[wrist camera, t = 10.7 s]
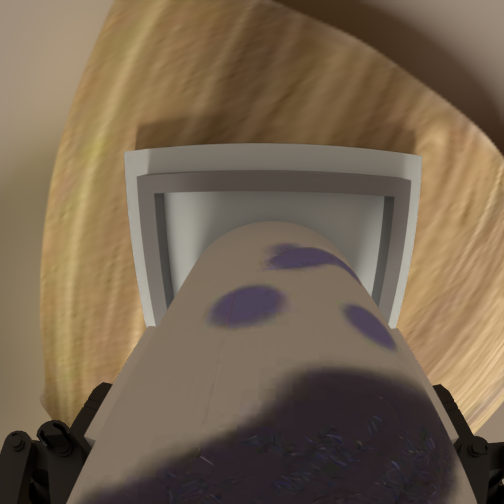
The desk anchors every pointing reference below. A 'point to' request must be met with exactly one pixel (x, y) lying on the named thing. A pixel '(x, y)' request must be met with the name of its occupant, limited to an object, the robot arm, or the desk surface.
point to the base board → (271, 209)
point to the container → (273, 391)
